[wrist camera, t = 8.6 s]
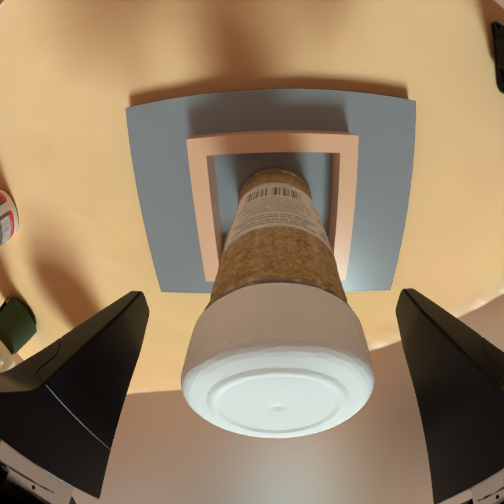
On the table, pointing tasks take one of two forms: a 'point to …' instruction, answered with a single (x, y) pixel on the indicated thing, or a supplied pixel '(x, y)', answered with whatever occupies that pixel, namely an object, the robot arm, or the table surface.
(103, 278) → the table surface
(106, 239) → the table surface
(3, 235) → the pill bottle
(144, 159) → the bottle holder
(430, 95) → the table surface
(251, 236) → the sprinkles bottle
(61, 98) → the table surface
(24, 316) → the character mug
